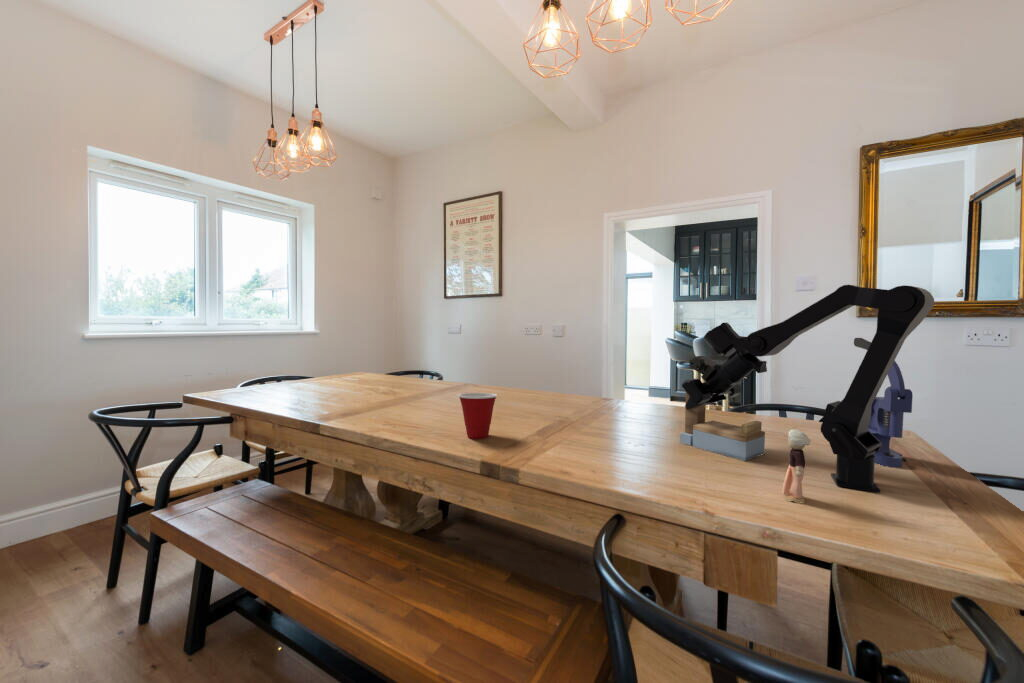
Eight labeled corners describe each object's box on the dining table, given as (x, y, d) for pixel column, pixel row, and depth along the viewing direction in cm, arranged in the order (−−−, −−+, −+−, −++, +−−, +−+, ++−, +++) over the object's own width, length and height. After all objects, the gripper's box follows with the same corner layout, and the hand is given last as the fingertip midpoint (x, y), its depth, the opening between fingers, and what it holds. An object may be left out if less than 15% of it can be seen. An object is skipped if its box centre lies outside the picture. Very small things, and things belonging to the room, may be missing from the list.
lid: (764, 435, 97) (765, 421, 97) (745, 441, 92) (746, 426, 92) (712, 424, 108) (712, 411, 108) (693, 429, 103) (693, 415, 103)
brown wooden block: (704, 434, 107) (705, 384, 106) (697, 437, 105) (698, 385, 104) (692, 431, 110) (693, 382, 109) (684, 433, 108) (685, 383, 107)
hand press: (923, 472, 86) (930, 341, 85) (873, 467, 88) (880, 340, 87) (871, 445, 104) (876, 337, 103) (831, 442, 106) (836, 337, 105)
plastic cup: (497, 430, 117) (497, 389, 116) (496, 441, 106) (496, 397, 106) (460, 430, 117) (460, 389, 116) (455, 442, 106) (455, 397, 106)
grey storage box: (764, 454, 97) (764, 436, 97) (745, 461, 92) (745, 442, 92) (698, 437, 111) (699, 421, 111) (679, 442, 106) (679, 426, 106)
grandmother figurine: (776, 489, 77) (779, 423, 76) (800, 492, 75) (803, 425, 75) (787, 506, 70) (790, 434, 69) (814, 510, 68) (817, 436, 68)
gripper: (730, 344, 108) (691, 380, 118) (689, 347, 98) (650, 386, 107) (760, 377, 102) (717, 412, 112) (720, 383, 92) (676, 421, 101)
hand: (690, 407), depth 108 cm, fingers closed on brown wooden block, 3 cm apart
